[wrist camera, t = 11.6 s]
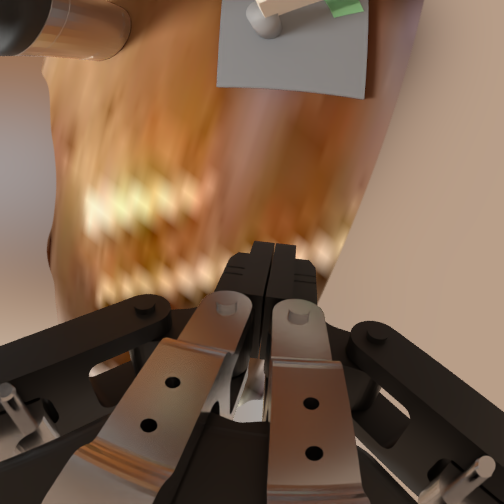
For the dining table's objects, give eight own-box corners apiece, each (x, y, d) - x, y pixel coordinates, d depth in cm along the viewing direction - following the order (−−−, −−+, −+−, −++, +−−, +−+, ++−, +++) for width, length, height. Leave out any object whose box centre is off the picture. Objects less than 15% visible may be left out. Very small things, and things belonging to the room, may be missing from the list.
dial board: (219, 87, 37) (216, 86, 36) (227, -32, 29) (224, -36, 28) (361, 99, 35) (364, 99, 34) (366, -23, 27) (368, -27, 26)
